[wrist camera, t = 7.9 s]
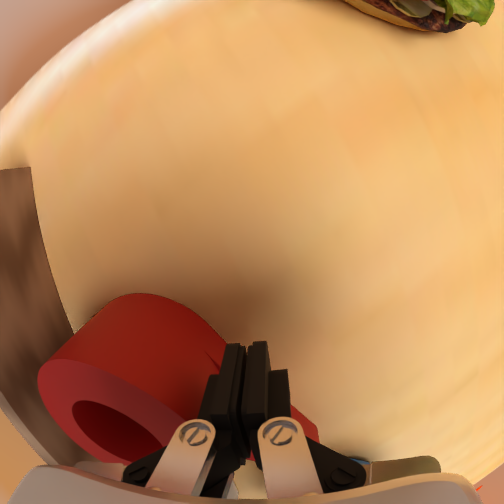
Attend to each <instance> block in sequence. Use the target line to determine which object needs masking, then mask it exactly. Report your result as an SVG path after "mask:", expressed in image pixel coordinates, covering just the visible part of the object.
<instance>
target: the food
mask: <svg viewBox="0 0 504 504" xmlns="http://www.w3.org/2000/svg"><path fill="white" fill-rule="evenodd" d="M344 1H346V2H347V3H349V4H351V5H352V6H354V7H356V8H357V9H359V10H361V11H362V12H364V13H367V14H369V15H372V16H375V17H378V18H380V19H383V20H386V21H388V22H391V23H393V24H395V25H399V26H404V27H408V28H413V29H417V30H421V31H428V30H431V31H437V32H443V33H448V32H451V31H454V30H458V29H461V28H463V27H464V26H465V25H466V24H467V23H470V22H473V21H474V22H477V23H479V24H480V26H483V25H485V24H486V22H487V20H488V19H489V17H490V16H491V14H492V12H493V10H494V6H495V3H494V0H344Z"/></svg>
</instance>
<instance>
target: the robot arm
mask: <svg viewBox="0 0 504 504" xmlns="http://www.w3.org/2000/svg"><path fill="white" fill-rule="evenodd" d="M251 450H252V453H253V456H254V459H255V462H256V465H257V467H258V468H259V469H260V470H262V471H263V473H264V479H265V485H266V491H267V497H268V499H227V496H228V493H229V490H230V487H231V484H232V481H233V478H234V471H236V470H237V469H239V468H240V465H245V462H246V458H250V457H251ZM7 504H483V502H482V500H481V498H480V496H479V495H478V493H477V491H476V489H475V488H474V487H473V485H472V484H471V483H470V482H469V481H468V480H467V479H466V478H464V477H463V476H461V475H458V474H453V473H441V468H440V464H439V462H438V461H437V460H436V459H435V458H434V457H431V456H419V457H413V458H406V459H398V460H389V461H377V462H372V464H364V465H361V464H359V463H358V462H356V461H354V460H352V459H350V458H348V457H345V456H343V455H341V454H339V453H337V452H335V451H333V450H331V449H329V448H327V447H325V446H323V445H322V444H320V443H318V442H316V441H314V440H312V439H310V438H309V437H307V436H305V435H304V432H303V429H302V427H301V425H300V423H299V422H297V421H296V420H295V419H292V416H291V403H290V391H289V380H288V371H287V369H283V370H273V371H271V366H270V360H269V353H268V346H267V341H258V342H253V345H251V346H248V353H247V352H246V348H245V346H241V345H240V343H235V344H226V347H225V351H224V355H223V359H222V364H221V368H220V372H219V374H211V375H210V376H209V378H208V381H207V385H206V389H205V392H204V396H203V399H202V403H201V407H200V410H199V414H198V417H197V419H194V420H189V421H187V422H184V423H183V424H181V425H180V426H179V427H178V428H177V430H176V431H175V433H174V435H173V437H172V439H171V441H170V442H169V444H168V445H167V446H165V447H163V448H161V449H159V450H157V451H155V452H153V453H151V454H149V455H147V456H145V457H143V458H141V459H139V460H137V461H135V462H133V463H131V464H129V465H128V466H125V465H124V464H123V463H104V462H92V461H80V462H78V463H76V464H75V465H74V466H73V467H69V466H63V465H40V466H36V467H34V468H33V469H31V470H30V471H29V472H28V473H27V474H26V475H25V477H24V478H23V479H22V480H21V482H20V483H19V485H18V486H17V488H16V489H15V491H14V493H13V495H12V496H11V498H10V500H9V501H8V503H7Z"/></svg>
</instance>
